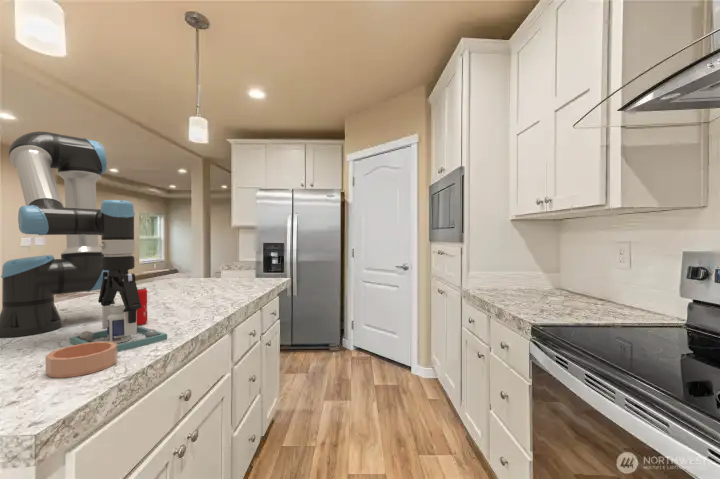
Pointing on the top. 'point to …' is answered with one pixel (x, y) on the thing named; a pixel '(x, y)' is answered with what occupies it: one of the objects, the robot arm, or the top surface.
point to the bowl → (81, 359)
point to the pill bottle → (116, 325)
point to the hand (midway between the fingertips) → (119, 331)
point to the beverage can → (142, 306)
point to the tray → (128, 345)
